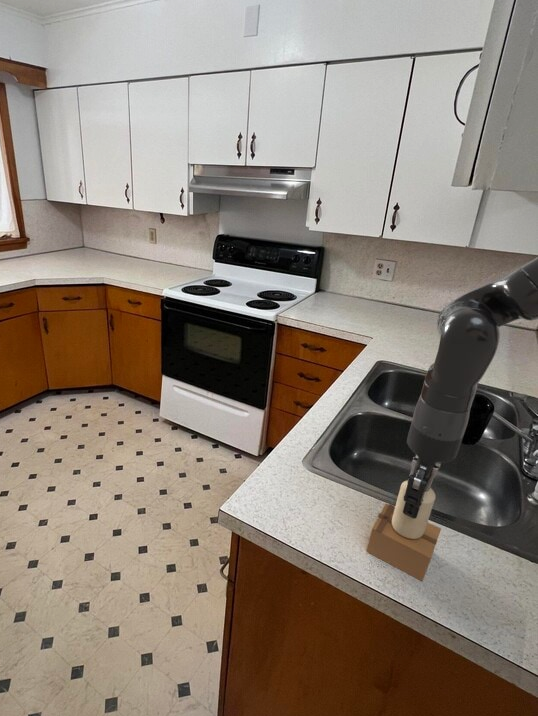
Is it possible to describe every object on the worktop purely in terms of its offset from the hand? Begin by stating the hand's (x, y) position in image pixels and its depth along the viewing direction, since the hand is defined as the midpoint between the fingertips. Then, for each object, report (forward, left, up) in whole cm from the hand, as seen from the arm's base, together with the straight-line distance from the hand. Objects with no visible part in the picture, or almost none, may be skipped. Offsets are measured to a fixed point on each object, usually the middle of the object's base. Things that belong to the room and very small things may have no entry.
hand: (414, 504), depth 75 cm
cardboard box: (0, 0, -12) cm, 12 cm away
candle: (0, 0, -6) cm, 6 cm away
